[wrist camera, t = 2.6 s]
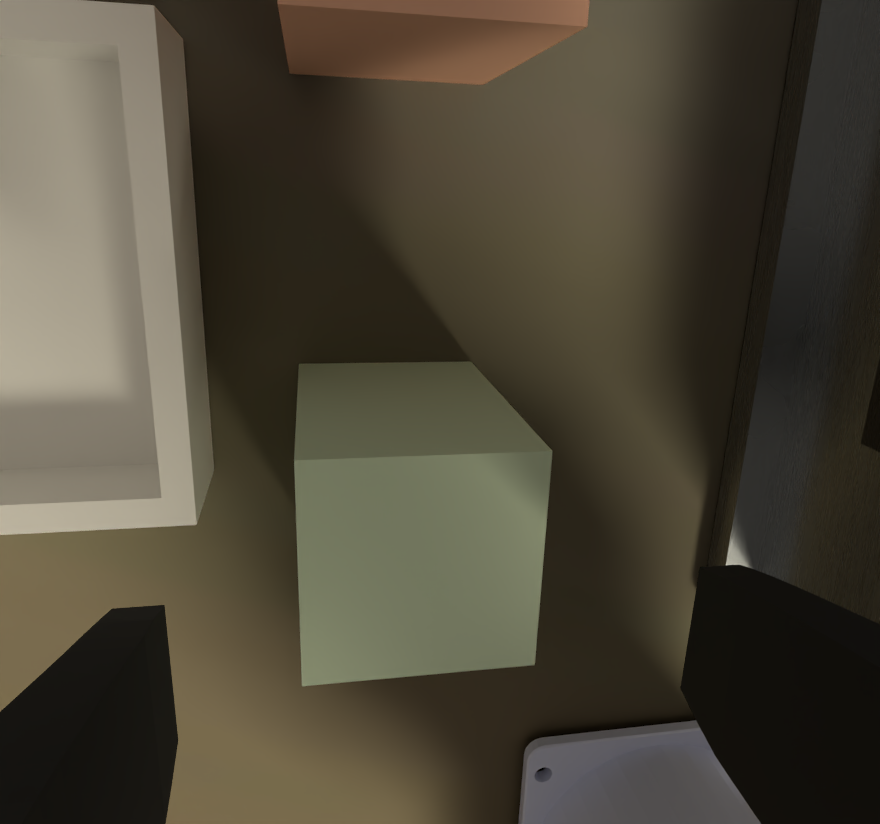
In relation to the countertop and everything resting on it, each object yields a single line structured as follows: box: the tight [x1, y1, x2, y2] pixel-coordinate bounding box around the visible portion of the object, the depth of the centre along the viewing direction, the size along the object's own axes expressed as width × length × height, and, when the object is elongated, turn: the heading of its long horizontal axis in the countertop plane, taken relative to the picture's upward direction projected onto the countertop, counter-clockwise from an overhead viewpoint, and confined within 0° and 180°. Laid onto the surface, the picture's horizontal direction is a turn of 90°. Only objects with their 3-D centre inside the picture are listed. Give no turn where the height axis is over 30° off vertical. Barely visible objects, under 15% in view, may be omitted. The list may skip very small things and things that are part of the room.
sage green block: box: [294, 362, 552, 686], centre depth 14 cm, size 4×4×6 cm
